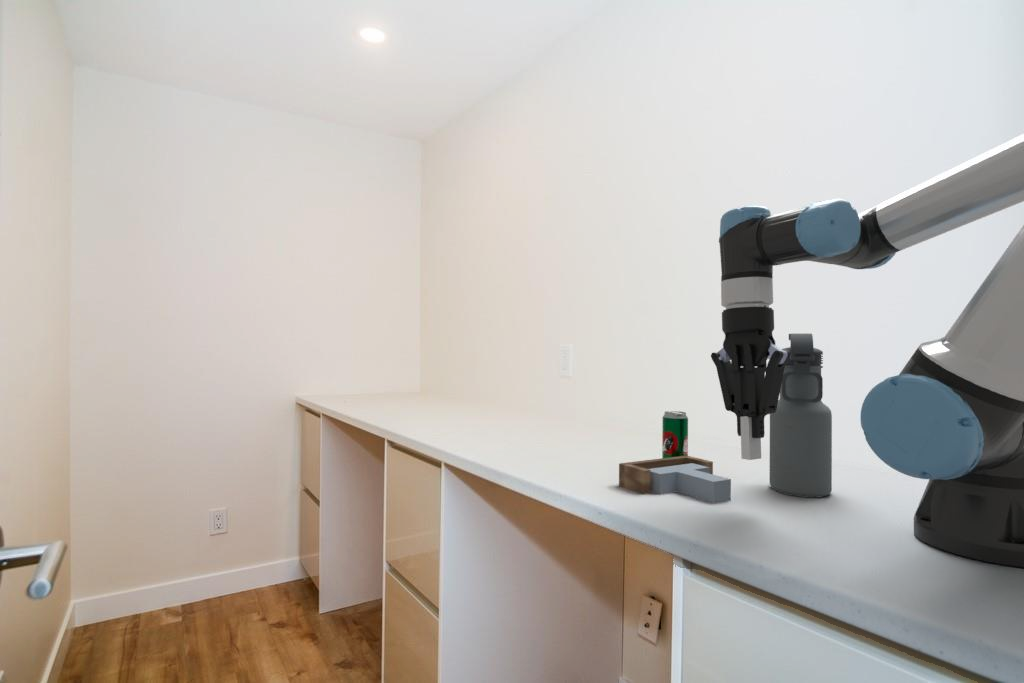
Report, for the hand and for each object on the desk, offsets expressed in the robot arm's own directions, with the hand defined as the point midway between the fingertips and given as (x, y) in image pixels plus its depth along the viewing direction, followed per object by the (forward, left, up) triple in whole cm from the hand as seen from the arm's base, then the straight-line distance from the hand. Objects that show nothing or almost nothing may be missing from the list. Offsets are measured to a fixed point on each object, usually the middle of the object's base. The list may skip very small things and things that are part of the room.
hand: (751, 458), depth 84 cm
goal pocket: (+18, 0, -8) cm, 20 cm away
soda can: (+26, -10, -8) cm, 29 cm away
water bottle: (+4, -18, -8) cm, 20 cm away
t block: (+11, 0, -8) cm, 14 cm away
